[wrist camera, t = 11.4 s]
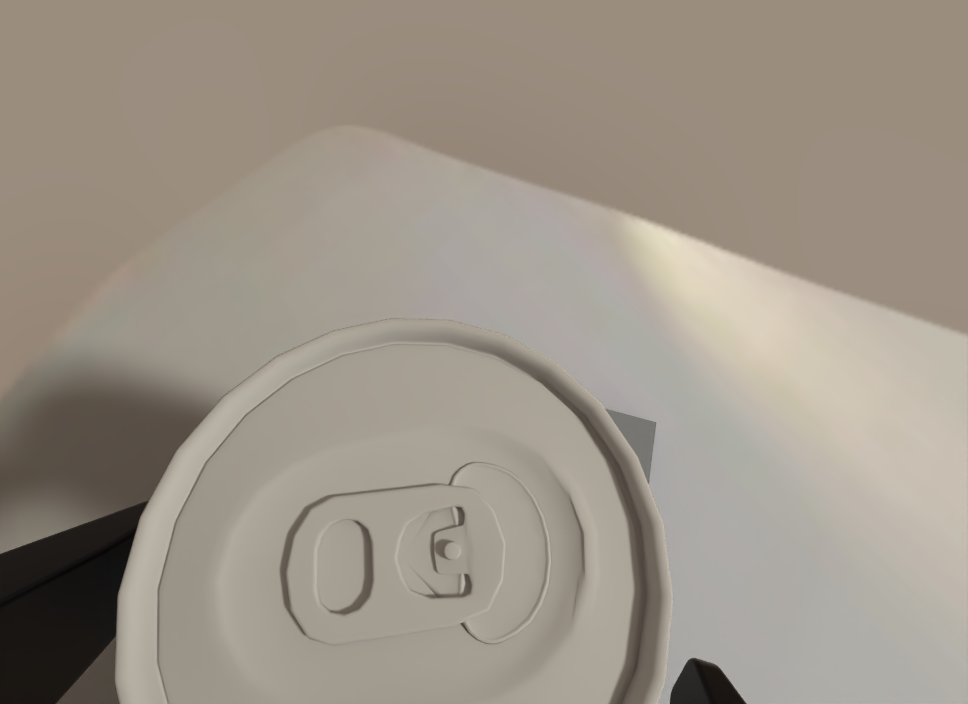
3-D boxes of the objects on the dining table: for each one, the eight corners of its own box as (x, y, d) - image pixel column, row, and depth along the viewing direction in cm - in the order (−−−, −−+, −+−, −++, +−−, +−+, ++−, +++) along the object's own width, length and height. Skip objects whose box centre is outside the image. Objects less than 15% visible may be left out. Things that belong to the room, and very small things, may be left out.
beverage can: (534, 630, 14) (781, 896, 3) (374, 654, 14) (12, 1057, 3) (511, 469, 16) (615, 285, 5) (369, 486, 16) (145, 326, 5)
